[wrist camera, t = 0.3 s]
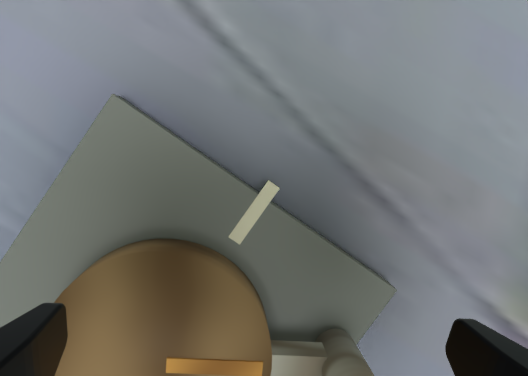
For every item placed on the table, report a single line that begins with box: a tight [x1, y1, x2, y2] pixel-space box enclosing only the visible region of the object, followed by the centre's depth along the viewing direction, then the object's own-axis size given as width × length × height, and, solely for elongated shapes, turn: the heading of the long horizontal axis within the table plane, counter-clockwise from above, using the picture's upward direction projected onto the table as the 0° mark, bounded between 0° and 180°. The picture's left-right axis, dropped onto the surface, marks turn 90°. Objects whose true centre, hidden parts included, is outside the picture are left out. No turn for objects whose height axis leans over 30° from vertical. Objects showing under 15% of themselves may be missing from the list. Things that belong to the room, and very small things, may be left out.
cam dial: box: [54, 239, 374, 376], centre depth 19 cm, size 17×12×6 cm
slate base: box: [0, 94, 397, 344], centre depth 23 cm, size 21×20×2 cm
